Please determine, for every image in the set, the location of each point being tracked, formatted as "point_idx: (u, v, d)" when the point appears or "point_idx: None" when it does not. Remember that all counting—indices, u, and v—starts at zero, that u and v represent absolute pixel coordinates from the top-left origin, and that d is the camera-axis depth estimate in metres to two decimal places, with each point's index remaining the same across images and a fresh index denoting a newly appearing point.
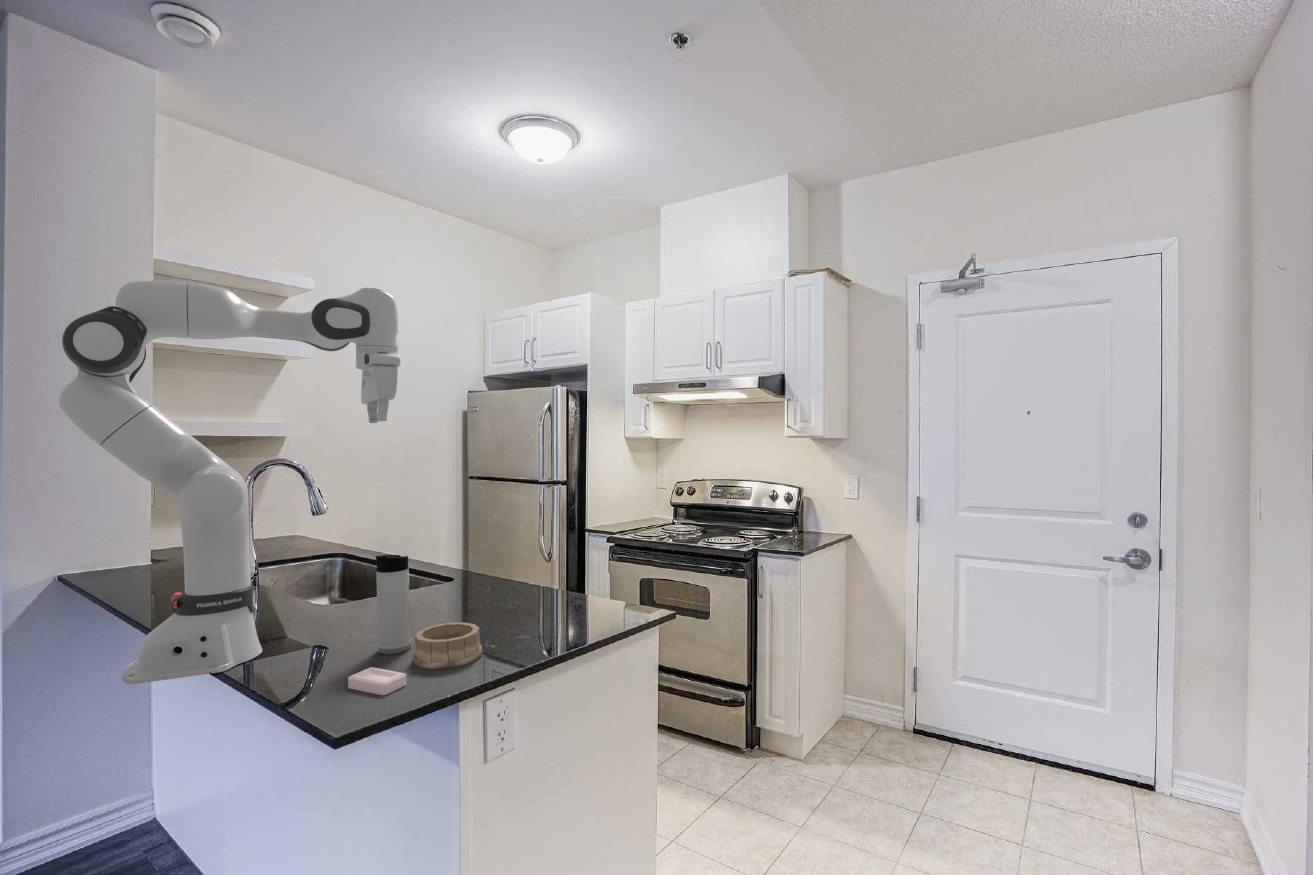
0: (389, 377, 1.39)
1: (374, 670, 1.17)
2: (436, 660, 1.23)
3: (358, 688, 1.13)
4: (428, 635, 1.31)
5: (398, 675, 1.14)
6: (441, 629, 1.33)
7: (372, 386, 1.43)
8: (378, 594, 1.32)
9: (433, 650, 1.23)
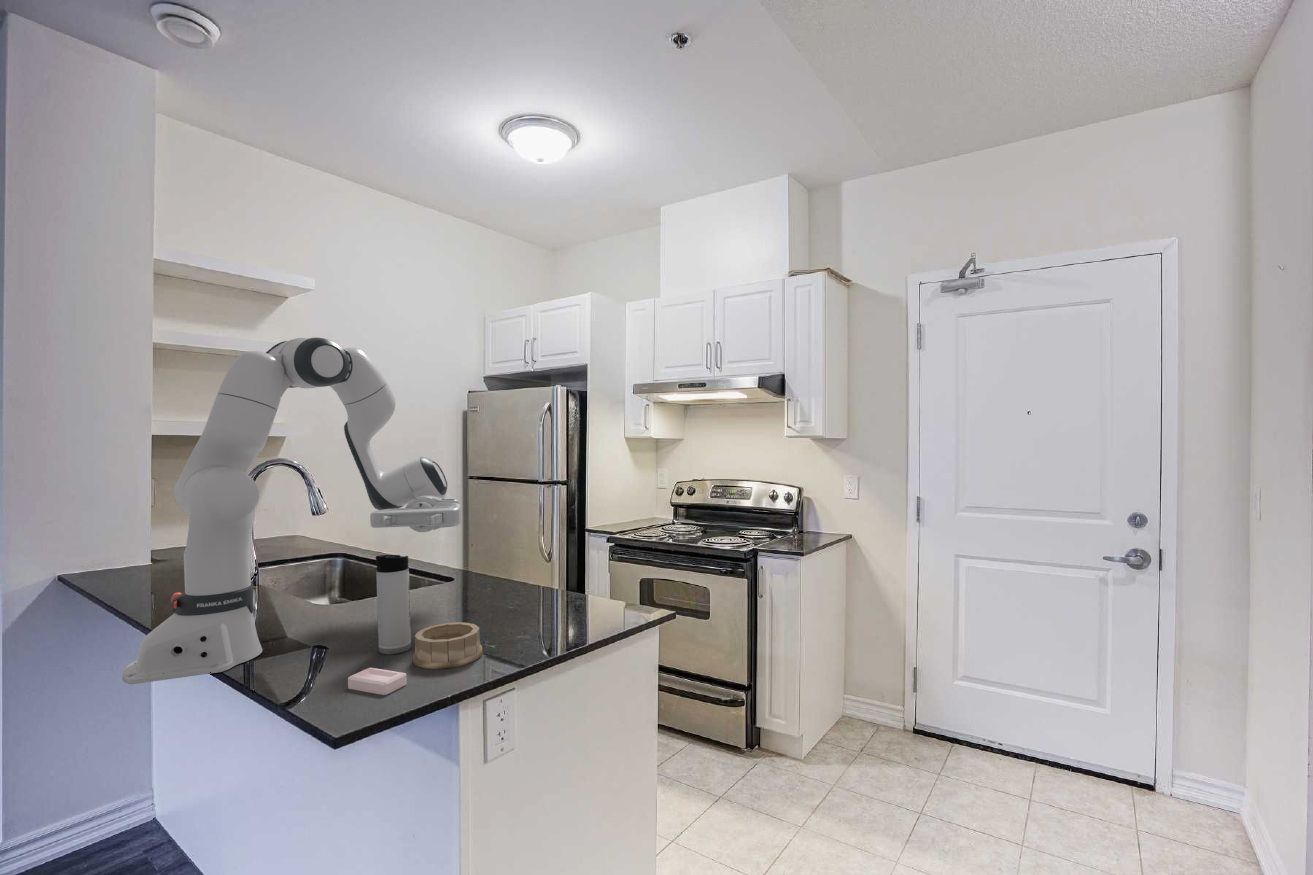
0: None
1: (373, 670, 1.17)
2: (436, 660, 1.23)
3: (358, 688, 1.13)
4: (428, 635, 1.31)
5: (398, 675, 1.15)
6: (441, 629, 1.33)
7: None
8: (378, 594, 1.32)
9: (433, 650, 1.23)
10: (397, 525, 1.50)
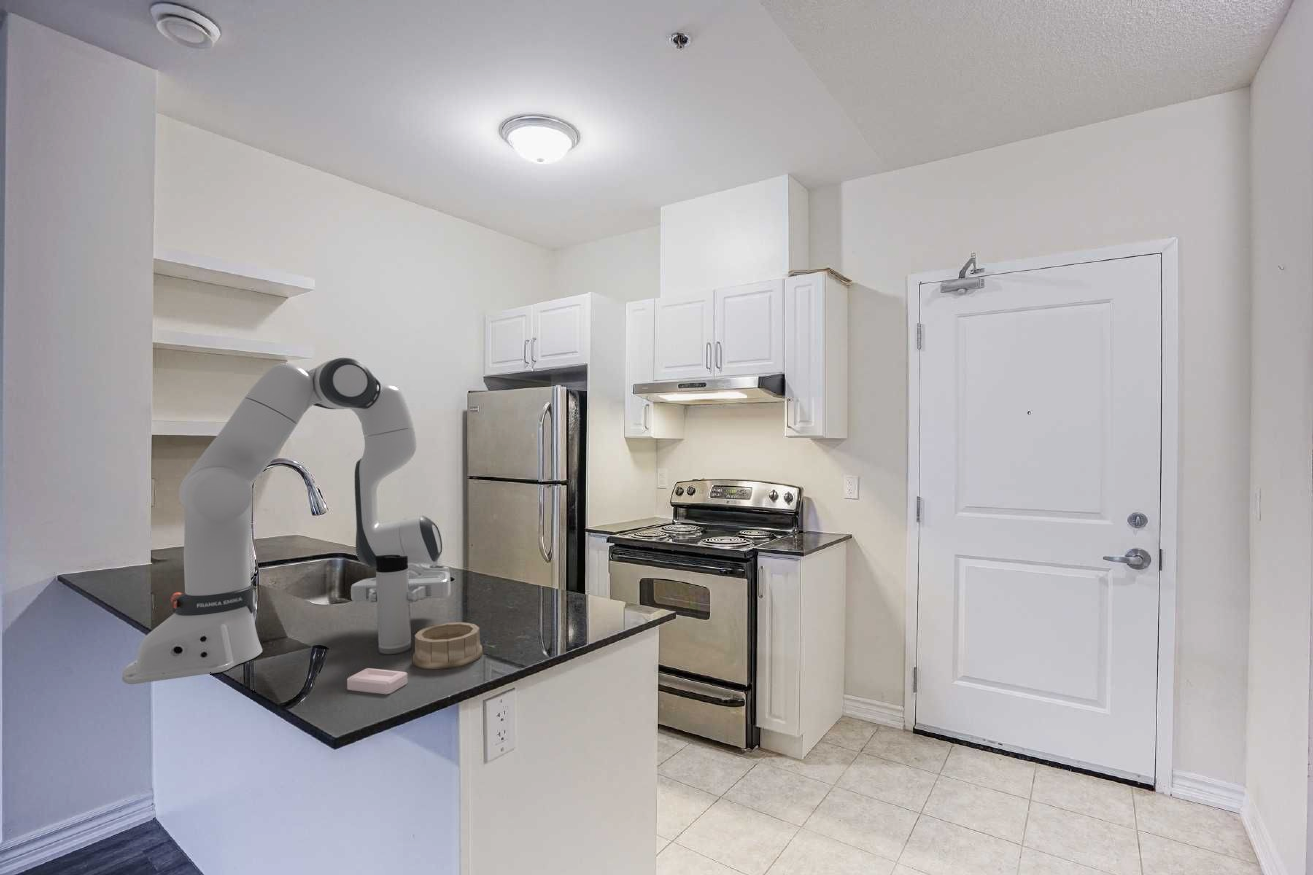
0: None
1: (372, 671, 1.17)
2: (436, 660, 1.23)
3: (359, 689, 1.13)
4: (428, 635, 1.31)
5: (399, 674, 1.15)
6: (441, 629, 1.33)
7: (421, 579, 1.41)
8: (378, 594, 1.32)
9: (433, 650, 1.23)
10: None
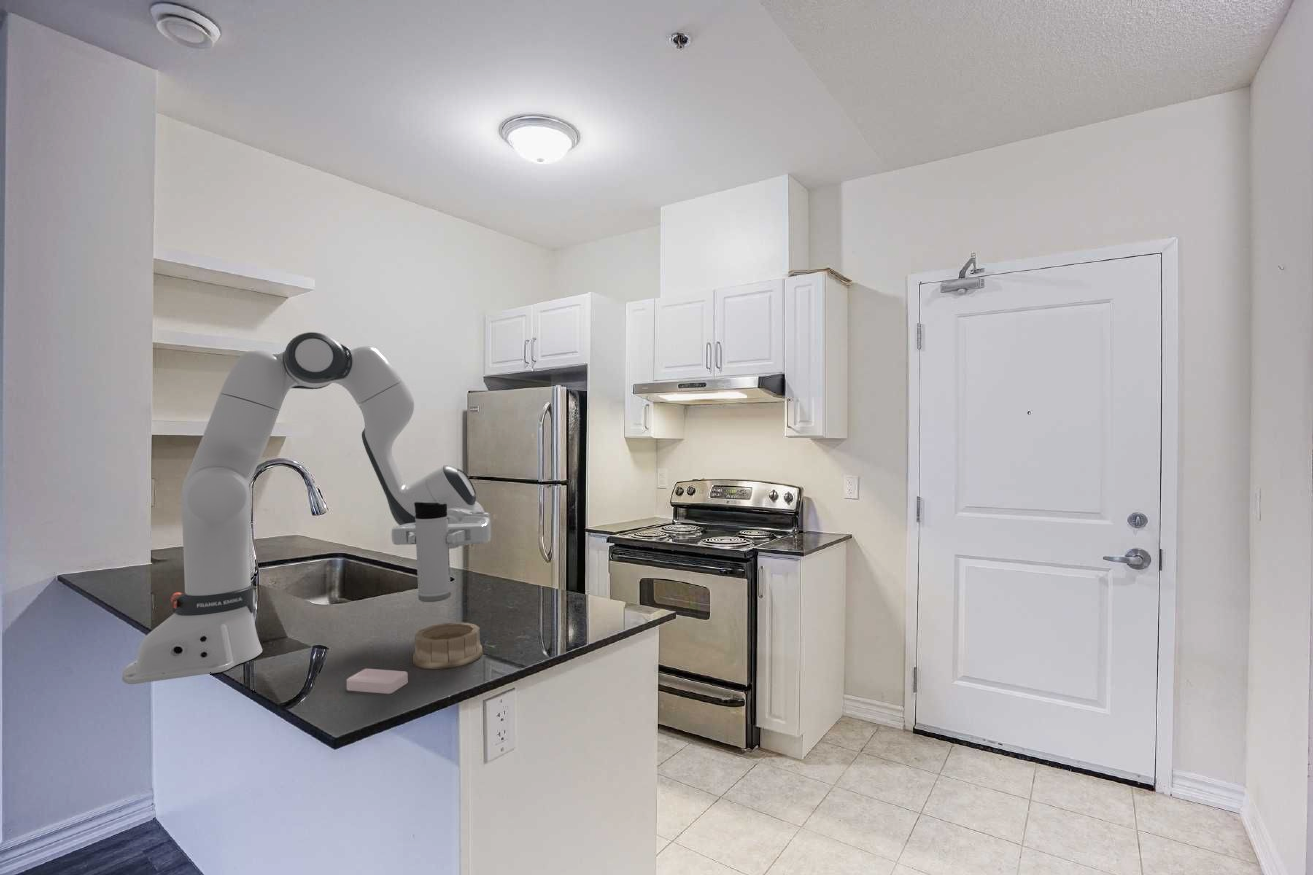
0: (490, 532, 1.40)
1: (371, 671, 1.17)
2: (436, 660, 1.23)
3: (359, 689, 1.13)
4: (428, 635, 1.31)
5: (400, 673, 1.15)
6: (441, 629, 1.33)
7: (461, 524, 1.38)
8: (417, 541, 1.29)
9: (433, 650, 1.23)
10: None
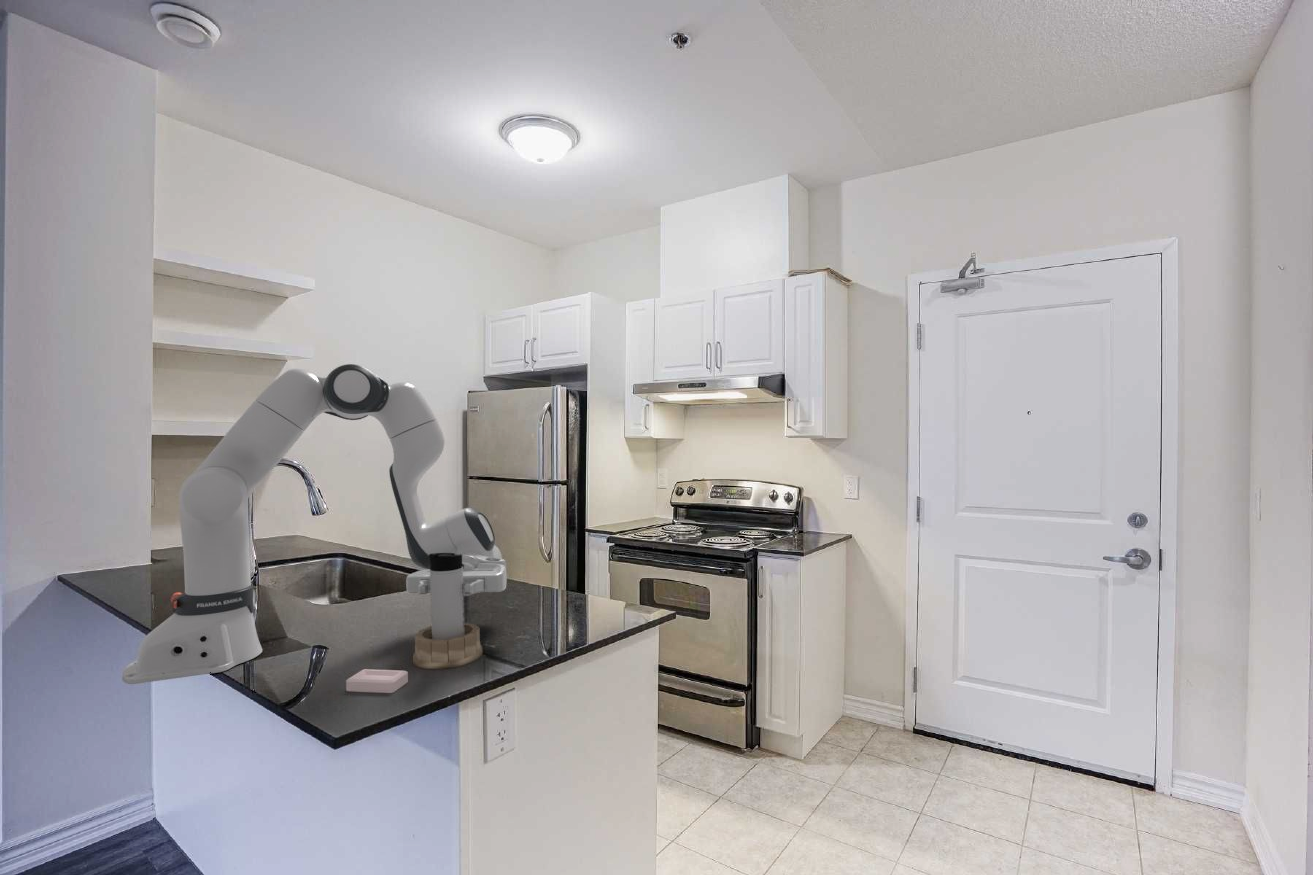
0: (505, 581, 1.37)
1: (370, 671, 1.17)
2: (436, 660, 1.23)
3: (360, 689, 1.13)
4: (428, 635, 1.31)
5: (401, 673, 1.16)
6: None
7: (476, 572, 1.35)
8: (431, 593, 1.27)
9: (433, 650, 1.23)
10: None
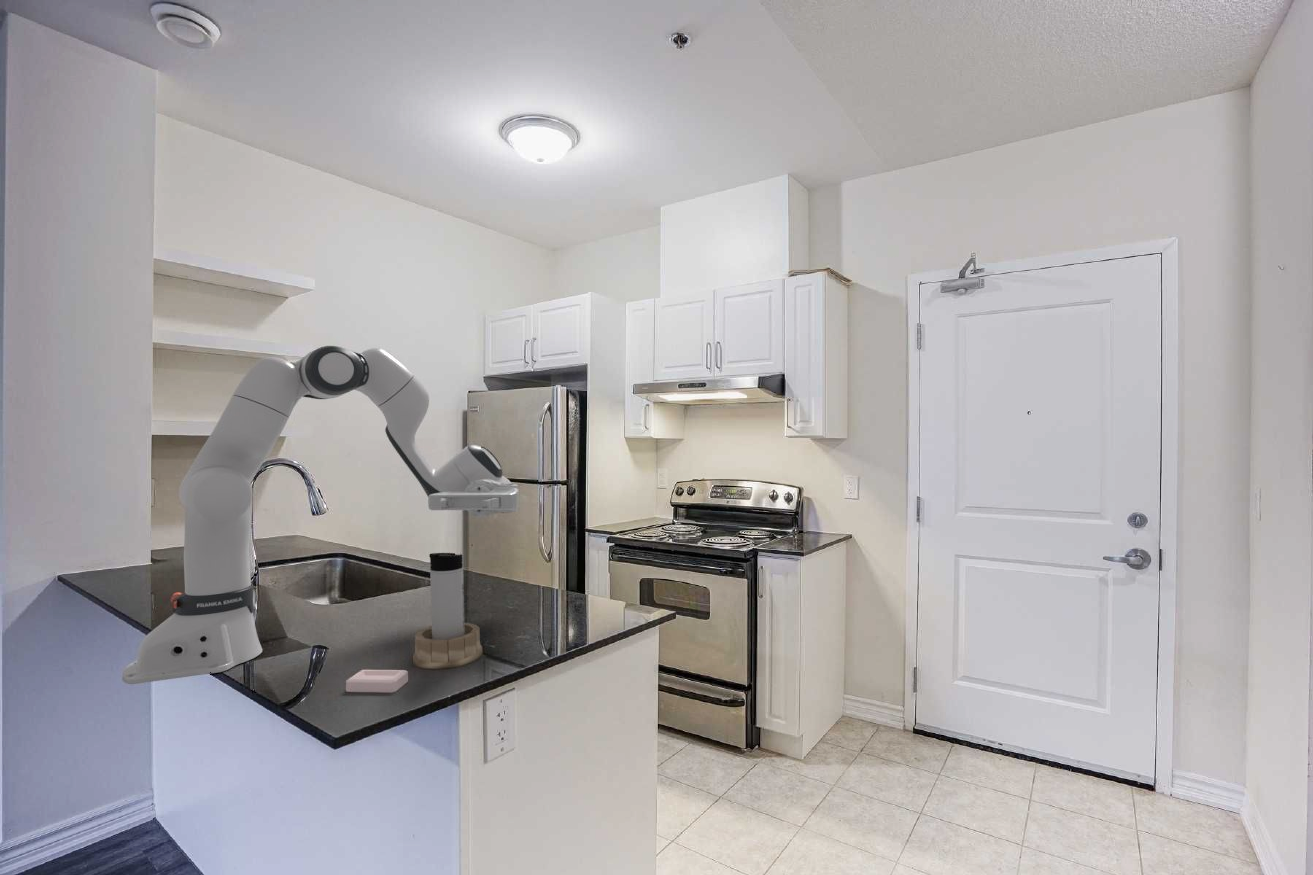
0: None
1: (369, 671, 1.17)
2: (436, 660, 1.23)
3: (360, 690, 1.13)
4: (428, 635, 1.31)
5: (401, 672, 1.16)
6: None
7: None
8: (432, 593, 1.27)
9: (433, 650, 1.23)
10: (454, 508, 1.45)
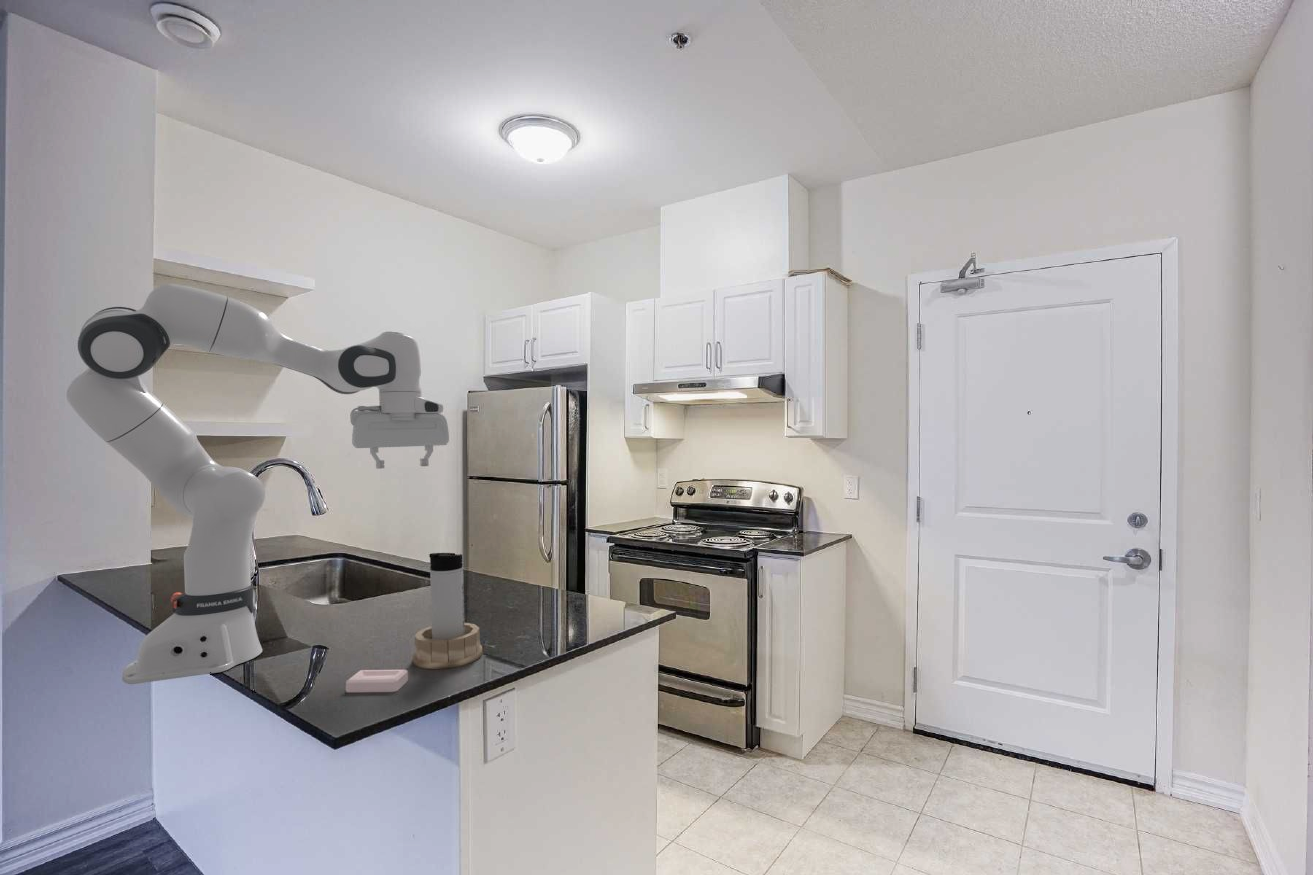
0: None
1: (368, 672, 1.17)
2: (436, 660, 1.23)
3: (361, 690, 1.12)
4: (428, 635, 1.31)
5: (401, 671, 1.16)
6: None
7: (421, 432, 1.46)
8: (432, 593, 1.27)
9: (433, 650, 1.23)
10: None
